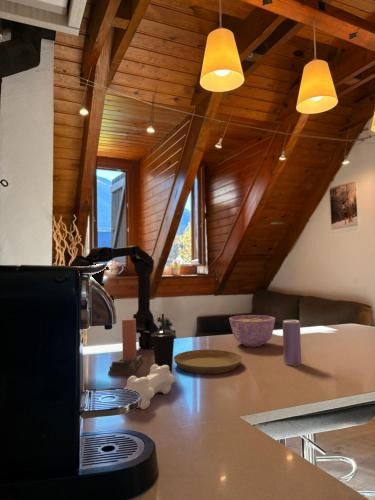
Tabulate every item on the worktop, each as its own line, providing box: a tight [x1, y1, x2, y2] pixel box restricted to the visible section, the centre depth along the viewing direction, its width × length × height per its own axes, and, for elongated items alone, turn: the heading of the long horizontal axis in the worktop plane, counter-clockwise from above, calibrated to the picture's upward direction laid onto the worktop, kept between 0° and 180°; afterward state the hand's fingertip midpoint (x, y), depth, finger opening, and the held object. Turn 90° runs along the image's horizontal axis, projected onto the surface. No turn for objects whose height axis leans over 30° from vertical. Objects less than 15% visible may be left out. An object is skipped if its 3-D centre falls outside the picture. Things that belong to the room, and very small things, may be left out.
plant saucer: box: [173, 349, 243, 375], centre depth 132 cm, size 24×24×3 cm
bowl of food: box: [228, 314, 276, 348], centre depth 164 cm, size 20×20×12 cm
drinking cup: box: [151, 313, 176, 375], centre depth 120 cm, size 8×8×20 cm
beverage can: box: [282, 319, 302, 367], centre depth 132 cm, size 6×6×15 cm
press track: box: [107, 354, 144, 376], centre depth 131 cm, size 16×8×4 cm, turn 173°
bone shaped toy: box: [123, 363, 176, 410], centre depth 100 cm, size 15×9×8 cm, turn 156°
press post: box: [121, 318, 139, 363], centre depth 135 cm, size 5×5×15 cm
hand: (86, 321), depth 136 cm, fingers open, 9 cm apart
